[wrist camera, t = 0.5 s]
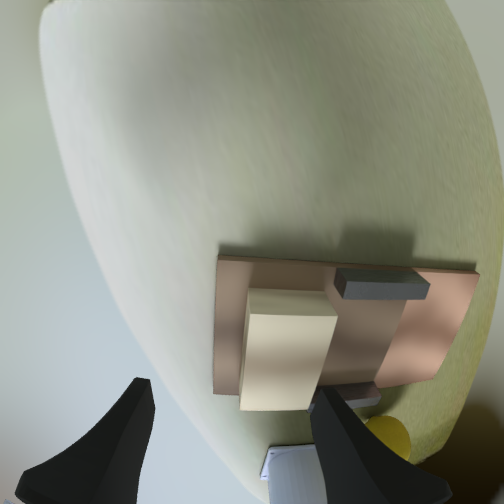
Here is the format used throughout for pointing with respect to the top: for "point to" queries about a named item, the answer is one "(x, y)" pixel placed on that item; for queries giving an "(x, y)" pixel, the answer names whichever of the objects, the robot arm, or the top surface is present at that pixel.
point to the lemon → (391, 434)
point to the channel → (372, 288)
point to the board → (346, 321)
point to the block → (284, 348)
